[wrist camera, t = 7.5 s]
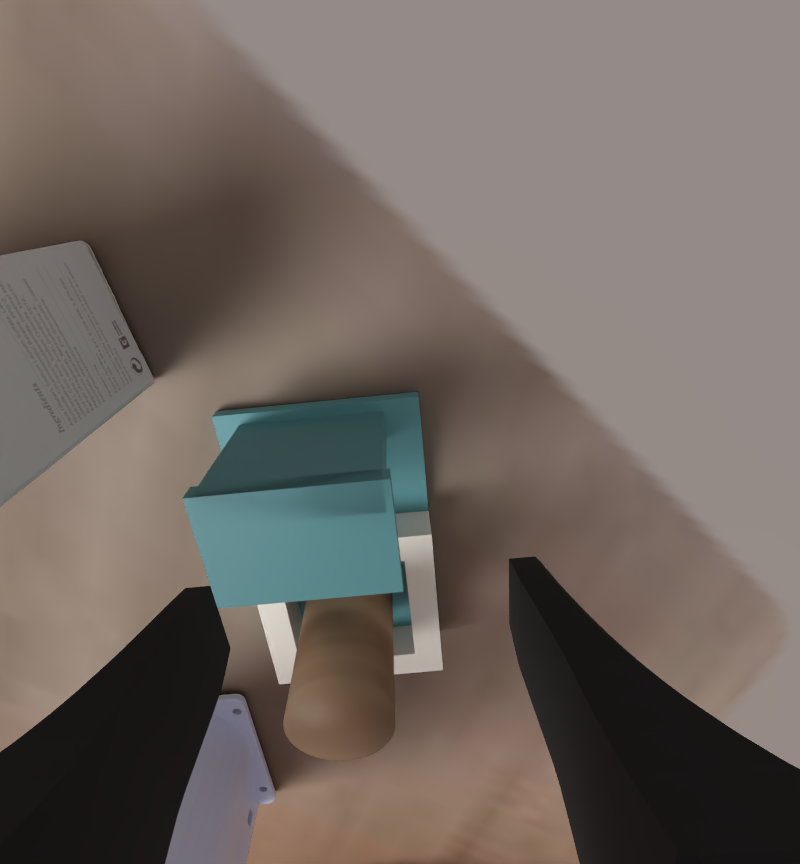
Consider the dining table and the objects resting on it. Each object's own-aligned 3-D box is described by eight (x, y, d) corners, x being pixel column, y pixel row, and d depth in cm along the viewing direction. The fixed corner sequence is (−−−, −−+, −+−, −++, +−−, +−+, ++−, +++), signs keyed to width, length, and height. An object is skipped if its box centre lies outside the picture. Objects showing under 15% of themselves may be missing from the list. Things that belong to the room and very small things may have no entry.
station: (438, 631, 27) (452, 747, 21) (278, 645, 27) (249, 764, 21) (417, 391, 21) (429, 460, 15) (216, 411, 21) (153, 486, 15)
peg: (395, 614, 25) (399, 756, 19) (316, 620, 25) (293, 764, 19) (388, 551, 23) (390, 684, 17) (303, 557, 23) (273, 693, 17)
